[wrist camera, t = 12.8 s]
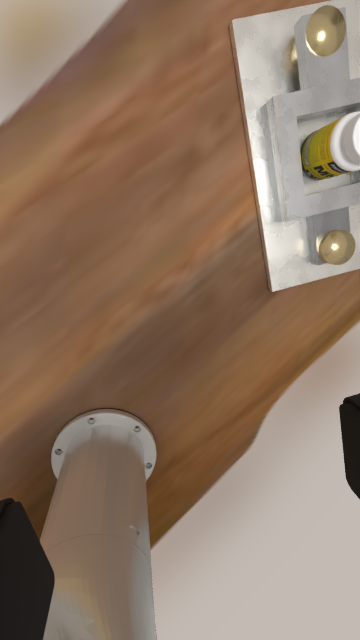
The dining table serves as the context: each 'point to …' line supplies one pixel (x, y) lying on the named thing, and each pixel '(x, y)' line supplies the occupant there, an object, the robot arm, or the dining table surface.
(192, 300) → the dining table surface
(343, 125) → the supplement bottle
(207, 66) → the dining table surface
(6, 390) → the dining table surface
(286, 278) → the gray plate
